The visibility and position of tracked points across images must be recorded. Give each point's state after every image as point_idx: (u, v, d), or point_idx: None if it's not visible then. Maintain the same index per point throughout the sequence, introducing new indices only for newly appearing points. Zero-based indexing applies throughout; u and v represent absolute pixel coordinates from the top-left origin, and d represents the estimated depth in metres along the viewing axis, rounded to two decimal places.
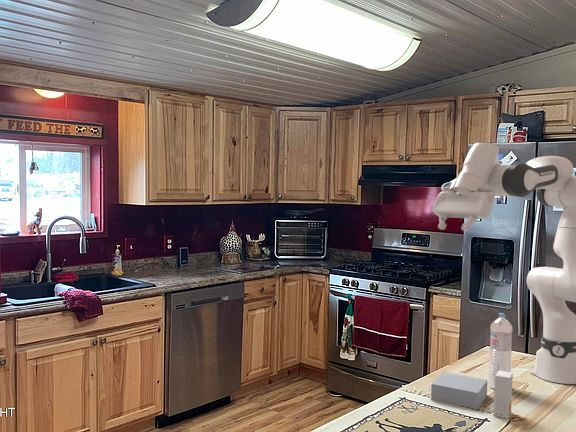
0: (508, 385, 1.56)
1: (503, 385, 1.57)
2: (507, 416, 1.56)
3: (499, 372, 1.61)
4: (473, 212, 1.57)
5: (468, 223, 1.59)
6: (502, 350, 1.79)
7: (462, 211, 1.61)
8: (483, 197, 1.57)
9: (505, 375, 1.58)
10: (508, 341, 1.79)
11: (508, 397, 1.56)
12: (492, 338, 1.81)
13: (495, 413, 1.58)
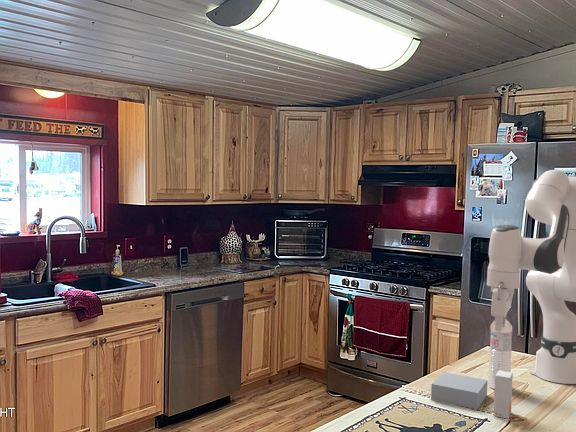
0: (508, 385, 1.56)
1: (503, 385, 1.57)
2: (507, 416, 1.56)
3: (499, 372, 1.61)
4: None
5: (496, 324, 1.54)
6: (502, 350, 1.79)
7: None
8: (492, 296, 1.52)
9: (505, 375, 1.58)
10: (508, 341, 1.79)
11: (508, 397, 1.56)
12: (492, 338, 1.81)
13: (495, 413, 1.58)
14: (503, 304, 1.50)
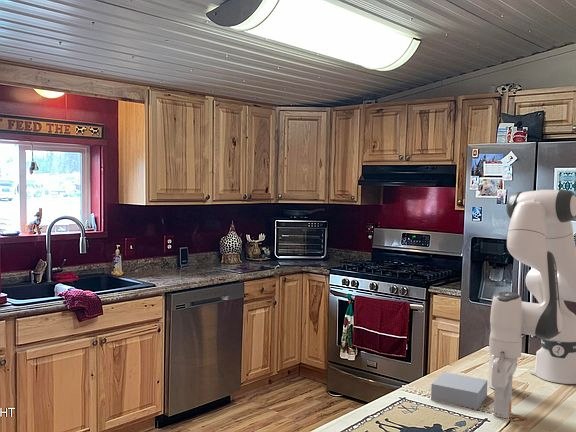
0: (508, 385, 1.56)
1: None
2: (507, 416, 1.56)
3: None
4: None
5: (498, 393, 1.56)
6: None
7: None
8: None
9: None
10: None
11: (508, 397, 1.56)
12: None
13: (495, 413, 1.58)
14: (503, 376, 1.50)
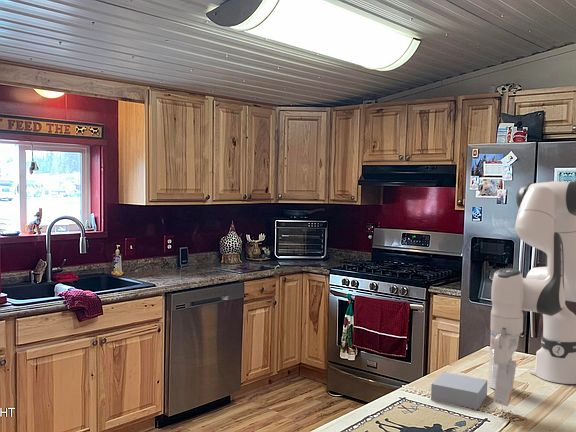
0: (511, 374, 1.56)
1: None
2: (507, 404, 1.57)
3: None
4: None
5: (501, 368, 1.56)
6: None
7: None
8: (494, 343, 1.53)
9: (508, 364, 1.58)
10: None
11: (509, 385, 1.57)
12: (492, 338, 1.81)
13: (495, 400, 1.59)
14: (505, 352, 1.50)
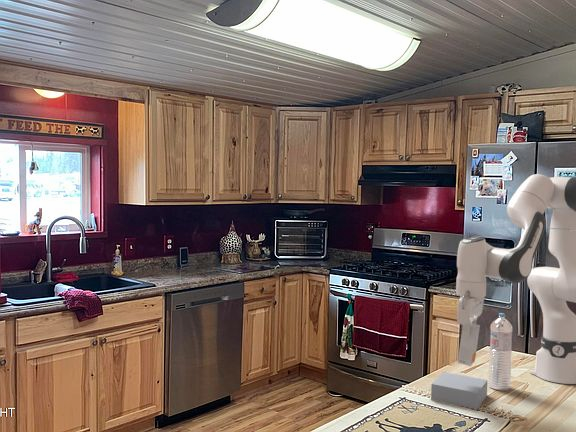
0: (474, 335, 1.66)
1: None
2: (470, 364, 1.66)
3: None
4: None
5: (464, 330, 1.65)
6: (502, 350, 1.79)
7: None
8: (458, 305, 1.62)
9: (472, 326, 1.67)
10: (508, 341, 1.79)
11: (472, 346, 1.66)
12: (492, 338, 1.81)
13: (459, 360, 1.68)
14: (467, 313, 1.60)
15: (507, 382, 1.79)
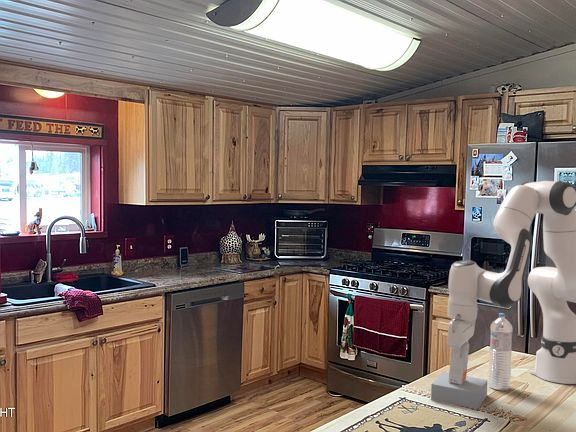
0: (463, 354, 1.69)
1: None
2: (460, 382, 1.69)
3: None
4: None
5: (455, 352, 1.68)
6: (502, 350, 1.79)
7: None
8: (448, 328, 1.65)
9: None
10: (508, 341, 1.79)
11: (462, 365, 1.69)
12: (492, 338, 1.81)
13: (450, 379, 1.71)
14: (457, 336, 1.62)
15: (507, 382, 1.79)
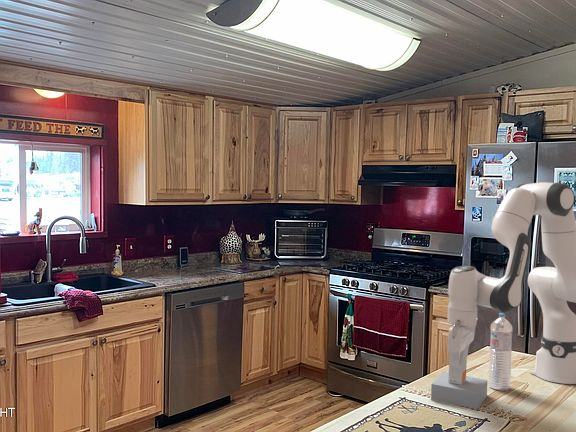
0: (461, 354, 1.69)
1: None
2: (460, 382, 1.69)
3: None
4: None
5: (454, 359, 1.67)
6: (502, 350, 1.79)
7: None
8: None
9: None
10: (508, 341, 1.79)
11: (461, 365, 1.69)
12: (492, 338, 1.81)
13: (450, 380, 1.71)
14: (457, 342, 1.63)
15: (507, 382, 1.79)
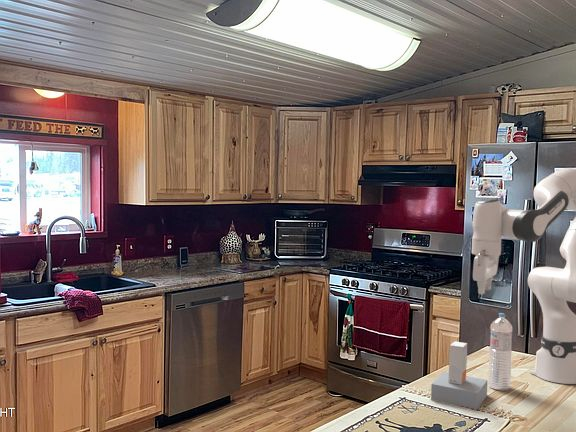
0: (461, 354, 1.69)
1: (457, 354, 1.70)
2: (460, 382, 1.69)
3: (454, 342, 1.74)
4: None
5: (479, 287, 1.71)
6: (502, 350, 1.79)
7: None
8: None
9: (459, 345, 1.71)
10: (508, 341, 1.79)
11: (461, 365, 1.69)
12: (492, 338, 1.81)
13: (450, 380, 1.71)
14: (483, 269, 1.66)
15: (507, 382, 1.79)
